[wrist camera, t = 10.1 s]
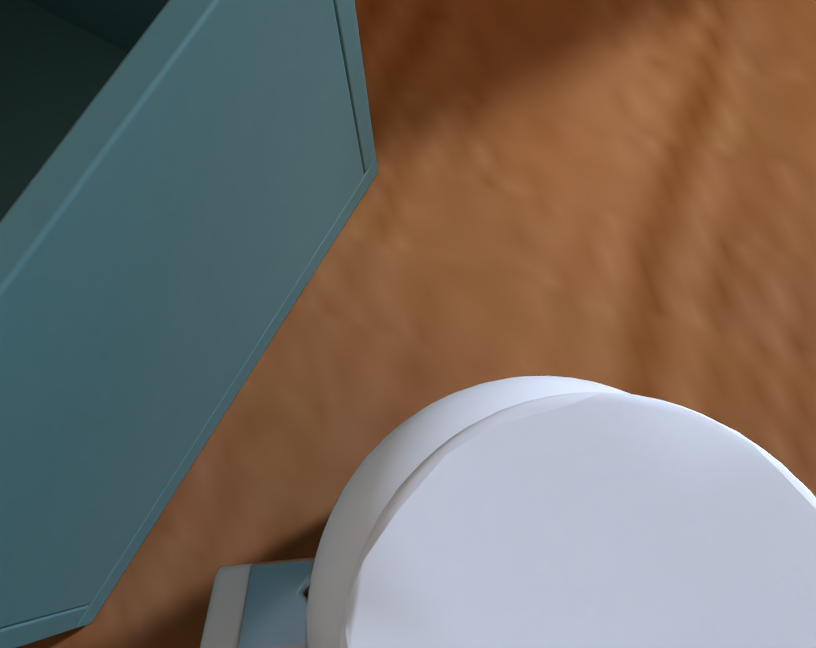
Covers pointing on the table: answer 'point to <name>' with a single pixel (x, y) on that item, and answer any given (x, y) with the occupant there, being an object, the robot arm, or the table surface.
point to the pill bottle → (565, 530)
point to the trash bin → (150, 255)
